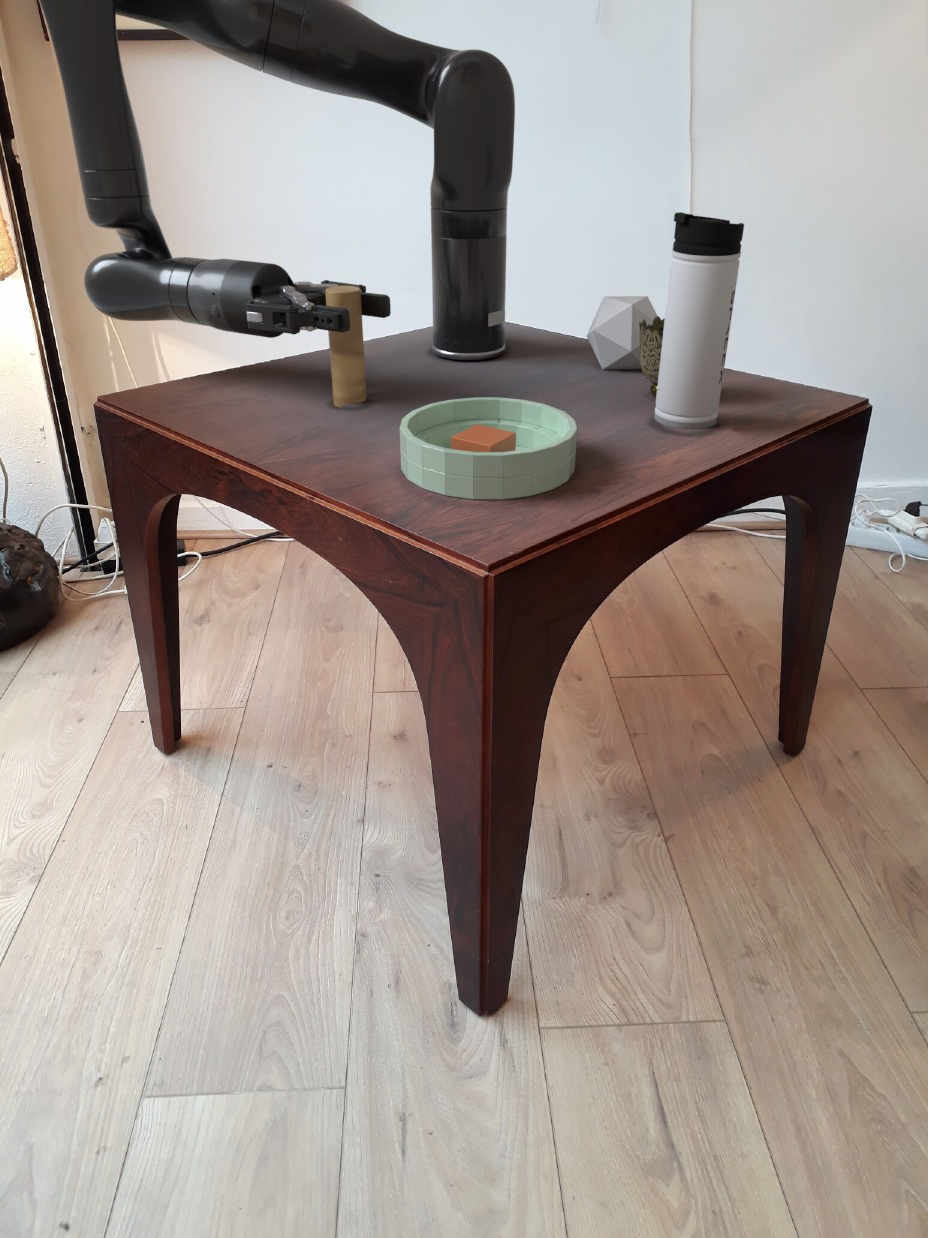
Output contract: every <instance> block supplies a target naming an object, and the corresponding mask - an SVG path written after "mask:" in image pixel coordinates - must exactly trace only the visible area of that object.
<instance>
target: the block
mask: <svg viewBox="0 0 928 1238" xmlns="http://www.w3.org/2000/svg"><path fill="white" fill-rule="evenodd" d="M451 449H454V450H463V451H471V452H508V451H516V433H515V432H510V431H506V430H501V429H497V428H492V427H487V426H483V425H478V424H477V425H475V426H473V427H471V428H469V429H467V430H465V431H463V432H461V433H459V434H457V435H455V436H452V437H451Z"/></svg>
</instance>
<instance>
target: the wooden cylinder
mask: <svg viewBox="0 0 928 1238" xmlns="http://www.w3.org/2000/svg"><path fill="white" fill-rule="evenodd" d="M325 295H326V306H332V307H340V308H346V309H348V311H349V314H350V330H349V331H346V332H344V333H342V332H335V331H328V330H327V332H328V345H329V347H328V348H329V360H330V373H331V385H332V386H331V387H332V400H333V406H334V407H336V408H338V409H340V408H342V407H344V406H345V405H355V404H356V405H357V404H361V403H363V402H365V401H367V399H368V398H367V382H366V381H367V380H366V379H367V378H366V364H365V363H366V362H365V346H364V330H363V329H364V328H363V315H362V308H361V290H360V288H358V287H354V286H334V287H329V288H327V289H325Z"/></svg>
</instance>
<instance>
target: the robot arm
mask: <svg viewBox="0 0 928 1238" xmlns="http://www.w3.org/2000/svg"><path fill="white" fill-rule="evenodd" d="M38 1H39V3H40V7H41V10H42V13H43V15H44V18H45V21H46V25H47V29H48V32H49V35H50V39H51V43H52V46H53V50H54V53H55V57H56V62H57V66H58V69H59V74H60V78H61V83H62V88H63V93H64V98H65V102H66V109H67V115H68V119H69V126H70V130H71V131H70V132H71V137H72V142H73V147H74V148H73V149H74V153H75V159H76V164H77V169H78V175H79V180H80V185H81V188H82V189H81V191H82V195H83V200H84V206H85V209H86V214H87V216H88V218H89V220H90V222H91V224H93V225H94V226H96V227H98V228H101V229H104V230H111V231H112V230H113V231H115V232H116V233H117V235H118V236H119V239H120V241H121V243H122V245H123V247H124V250H123V251H122V250H121V251H117V252H109V253H106V254H102V255H99V256H98V257H96V258H94V259H93V260H92V261H90V262H89V264H88V266H87V268H86V269H85V272H84V277H83V284H84V285H83V286H84V290H85V294H86V296H87V298H88V300H89V301H90V303H91V304H92V305H93V306H94V307H95V309H97V310H98V312H101V313H102V314H103V315H105V316H107V317H108V318H112V319H114V320H118V321H123V322H124V321H125V322H158V321H170V322H171V321H172V322H173V321H174V322H182V323H185V324H190V325H191V324H192V325H198V326H205V327H210V328H213V329H216V330H219V331H223V332H228V333H235V334H242V335H249V336H255V337H262V338H270V339H275V338H277V337H279V336H281V335H283V334H290V335H297V334H299V333H301V331H305V332H314V331H316V330H320V331H327V332H328V331H335V332H342V333H344V332H346V331H349V330H350V314H349V311H348V309H346V308H340V307H332V306H326V295H325V289H327V288H329V287H334V286H354V287H358V288H360V290H361V308H362V316H365V317H372V318H373V317H374V318H381V319H386V318H388V317H390V316H391V310H392V309H391V298H390V296H389V295H388V294H382V293H374V292H367V286H366V285H363V284H355V283H348V282H340V281H333V280H328V279H324V280H322V281H320V283H312V281H296V282H294V281H293V279H292V278H291V276H290V275H289V273H288V272H287V270H286V269H284V267H282V266H280V265H278V264H276V263H270V262H261V261H259V262H258V261H249V260H243V259H242V260H241V259H231V258H217V259H215V258H214V259H209V258H201V257H200V258H199V257H189V256H187V257H186V256H180V257H173V256H172V252H171V251H170V248H169V245H168V243H167V241H166V238H165V236H164V233H163V230H162V228H161V225H160V223H159V221H158V218H157V217H156V214H155V211H154V209H153V206H152V199H151V195H150V187H149V180H148V173H147V168H146V161H145V156H144V152H143V151H144V150H143V147H142V142H141V138H140V133H139V128H138V124H137V122H136V117H135V113H134V110H133V106H132V102H131V98H130V95H129V91H128V88H127V83H126V79H125V75H124V69H123V64H122V59H121V58H122V57H121V54H120V47H119V46H120V45H119V39H118V30H117V16H120V17H125V18H128V19H132V20H135V21H140V22H144V23H148V24H151V25H155V26H158V27H160V28H164V29H167V30H169V31H172V32H175V33H176V34H179V35H180V36H183V37H185V38H187V39H189V40H191V41H193V42H195V43H197V44H199V45H200V46H203V47H204V48H206V49H208V50H211V51H212V52H215V53H217V54H218V55H221V56H223V57H225V58H228V59H230V60H232V61H234V62H236V63H239V64H241V65H244V66H246V67H248V68H250V69H253V70H255V71H258V72H262V73H264V74H267V75H269V76H272V77H274V78H278V79H280V80H283V81H286V82H289V83H292V84H295V85H298V86H301V87H305V88H309V89H312V90H316V91H320V92H324V93H328V94H333V95H337V96H343V97H347V98H353V99H359V100H363V101H367V102H372V103H376V104H378V105H381V106H383V107H386V108H389V109H392V110H393V111H396V112H398V113H401V114H402V115H405V116H407V117H408V118H411V119H413V120H415V121H417V122H419V123H421V124H423V125H425V126H427V127H429V128H431V129H432V130H433V169H432V177H431V182H430V188H429V190H430V193H429V194H430V195H429V196H430V197H429V198H430V234H431V237H430V238H431V239H430V241H431V243H430V244H431V245H430V246H431V293H432V295H431V297H432V299H431V300H432V302H431V303H432V344H431V345H432V346H431V348H432V353H433V354H434V355H436V356H438V357H441V358H443V359H449V360H456V361H482V360H489V359H495V358H497V357H500V356H502V355H504V354H505V353H506V343H505V330H506V328H505V327H506V292H507V291H506V290H507V288H506V287H507V246H508V245H507V240H508V236H507V235H508V234H507V233H508V232H507V231H508V200H509V199H508V198H509V197H508V196H509V189H510V185H511V182H512V176H513V165H514V148H515V147H514V146H515V145H514V144H515V125H516V124H515V121H516V97H515V87H514V83H513V79H512V77H511V74H510V72H509V70H508V68H507V67H506V65H505V64H504V63H503V61H502V60H501V59H500V58H498V57H497V56H495V55H494V54H492V53H491V52H489V51H486V50H483V49H476V48H475V49H463V50H460V49H453V48H448V47H444V46H440V45H436V44H432V43H429V42H425V41H421V40H418V39H414V38H411V37H408V36H405V35H403V34H400V33H397V32H395V31H392V30H390V29H389V28H387V27H384V26H383V25H381V24H380V23H378V22H377V21H375V20H373V19H371V18H370V17H368V16H367V15H365V14H364V13H362V12H361V11H359V10H357V9H355V8H353V7H352V6H350V5H348V4H347V3H345V2H343V1H341V0H38Z"/></svg>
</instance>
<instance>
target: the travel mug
mask: <svg viewBox="0 0 928 1238" xmlns="http://www.w3.org/2000/svg"><path fill="white" fill-rule="evenodd" d="M673 222H674V223H675V227H674V236H673V238H674V242H673V244H672V249H671V256H672V257H671V259H670V266H669V276H668V284H667V285H668V286H667V294H666V305H665V312H664V318H665V321H664V330H663V340H662V349H661V358H660V367H659V377H658V386H657V395H656V397H655V408H654V414H653V415H654V416H653V419H654V420H655V421H656V422H657V423H659V424H661V425H663V426H665V427H670V428H675V429H683V430H701V429H702V430H703V429H707V428H710V427H713V426H715V425H717V423H718V422H717V421H718V415H719V412H718V410H719V406H720V399H721V393H722V388H723V387H722V386H723V380H724V373H725V366H726V359H727V351H728V345H729V339H730V331H731V324H732V319H733V318H732V317H733V311H734V303H735V297H736V288H737V283H738V275H739V268H740V262H741V261H740V260H739V259H740V258H741V255H742V251H741V250H742V244H741V242H742V241H743V236H744V229H745V223H743V222H739V223H732V222H731V220H729V219H723V218H716V217H711V216H710V217H709V216H701V215H694V214H692V213H685V212H675V213H674V215H673Z"/></svg>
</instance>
